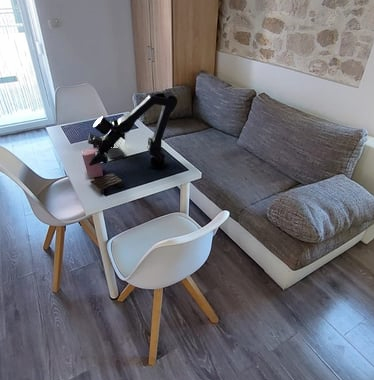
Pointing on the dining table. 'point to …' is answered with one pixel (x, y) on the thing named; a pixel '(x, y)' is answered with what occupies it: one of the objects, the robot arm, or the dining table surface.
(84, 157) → the box
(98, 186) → the rack
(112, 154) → the phone
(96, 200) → the dining table surface
